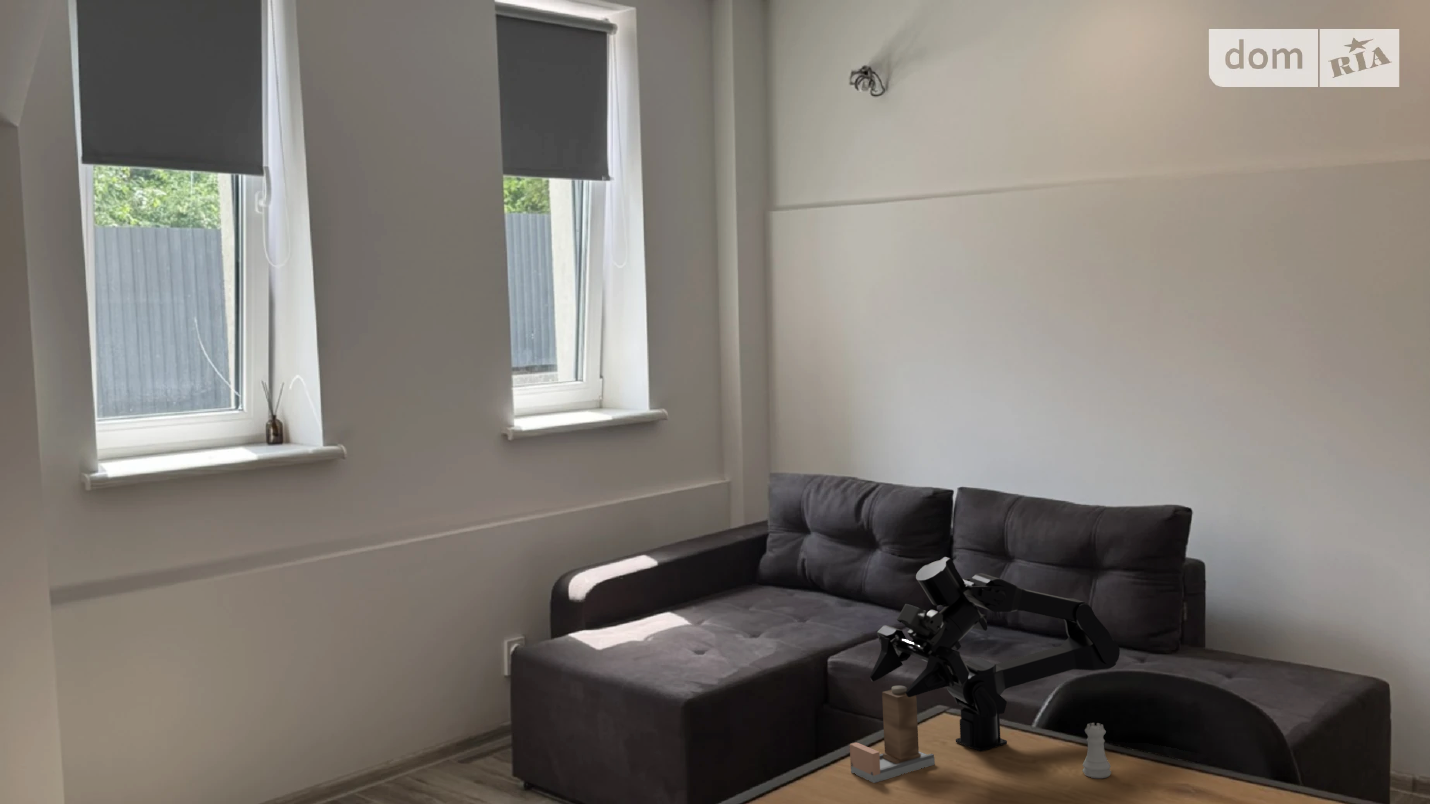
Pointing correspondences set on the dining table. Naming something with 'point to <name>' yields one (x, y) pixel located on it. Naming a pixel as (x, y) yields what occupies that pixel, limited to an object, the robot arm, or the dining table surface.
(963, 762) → the dining table surface
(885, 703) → the slider block with knob
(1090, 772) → the rook chess piece
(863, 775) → the rail
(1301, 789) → the dining table surface
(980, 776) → the dining table surface
